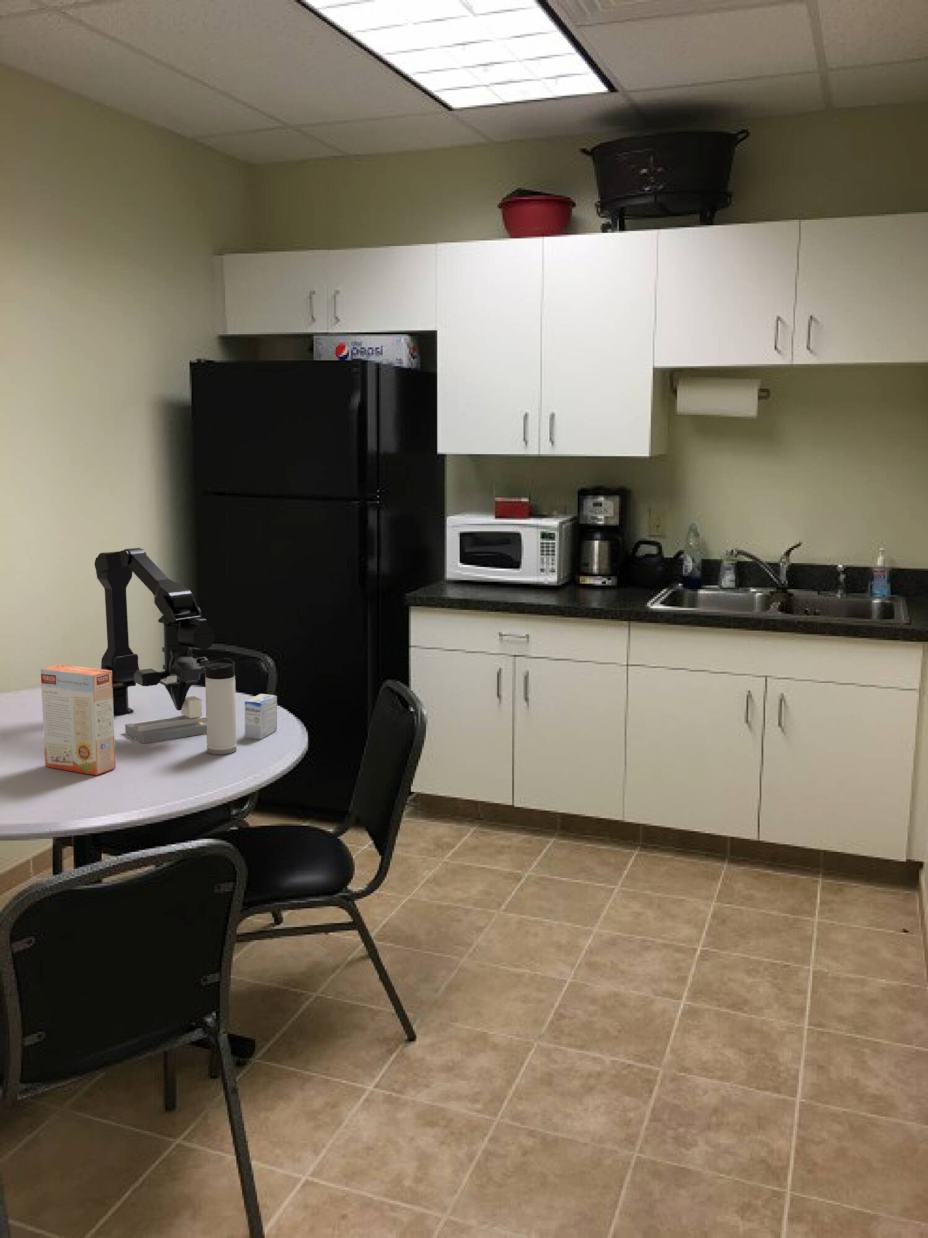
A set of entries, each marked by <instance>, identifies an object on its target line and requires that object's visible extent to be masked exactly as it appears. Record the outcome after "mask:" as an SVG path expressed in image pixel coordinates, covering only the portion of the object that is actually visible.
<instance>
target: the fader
mask: <svg viewBox="0 0 928 1238" xmlns="http://www.w3.org/2000/svg"><path fill="white" fill-rule="evenodd" d="M202 702H203V700H202V699H201V698H199V697H197V696H195V695H193V694H192V695H186V697H185V700H184V703H183V706H182V709H181V710H180V715H184V719H189V718H196V717H202V716H203V703H202Z"/></svg>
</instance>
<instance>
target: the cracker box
mask: <svg viewBox="0 0 928 1238" xmlns="http://www.w3.org/2000/svg"><path fill="white" fill-rule="evenodd" d="M40 682H41V684H40V685H41V701H42V702H41V703H42V705H41V707H42V725H43V727H42V728H43V742H44V743H43V746H44V747H43V748H44V765H45V767H47V768H52V769H58V770H63V771H69V772H75V773H81V774H86V775H92V776H99V775H101V774H104V773H107V772H109V771H112V770H115V769H116V743H115V721H114V719H115V718H114V717H115V715H114V713H113V687H112V671H111V670H103V669H101V668H94V667H86V666H76V665H72V664H71V665H70V664H65V663H64V664H63V663H59V664H55V665H50V666H47V667H42V668H40Z"/></svg>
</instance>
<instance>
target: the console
mask: <svg viewBox="0 0 928 1238" xmlns="http://www.w3.org/2000/svg"><path fill="white" fill-rule="evenodd" d="M124 727H125V729H124V730H125V731H124V732H125V733H126V734H127V735H128V736H130V737H131V738H133V739H135V738H136V739H135V740H137V741H139V742H140V743H142V744H144V745H145V744H152V743H156V742H157V741H158V742H164V740H165V741H170V740H175V738H177V739H182V738H188V737H187V736H189V737H194V736H195V737H196V736H200V735H207V727H206V715H202V716H201V717H196V718H189V719H184V715H183V714H180V715H175V716H169V717H168V716H167V717H162V718H157V719H149V720H143V721H142V720H141V721H136V722H131V723H125V724H124ZM158 742H157V743H158Z"/></svg>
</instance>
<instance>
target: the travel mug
mask: <svg viewBox="0 0 928 1238" xmlns="http://www.w3.org/2000/svg"><path fill="white" fill-rule="evenodd" d="M235 668H236V667H235V661H234V660H233V659H232V658H228V657H227V658H226V657H224V658H223V657H222V659H215V660H212V661H208V663H207V664H206V665H205V672H206V676H205V675H204V676H205V681H204V682H205V713H206V714H205V716H206V727H207V734H206V751H207V753H209V754H211V755H216V756H223V755H231V754H233V753H234V752H236V751H237V712H236V711H237V710H236V709H237V706H236V702H237V701H236V700H237V699H236V673H235V671H236V669H235Z"/></svg>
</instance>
